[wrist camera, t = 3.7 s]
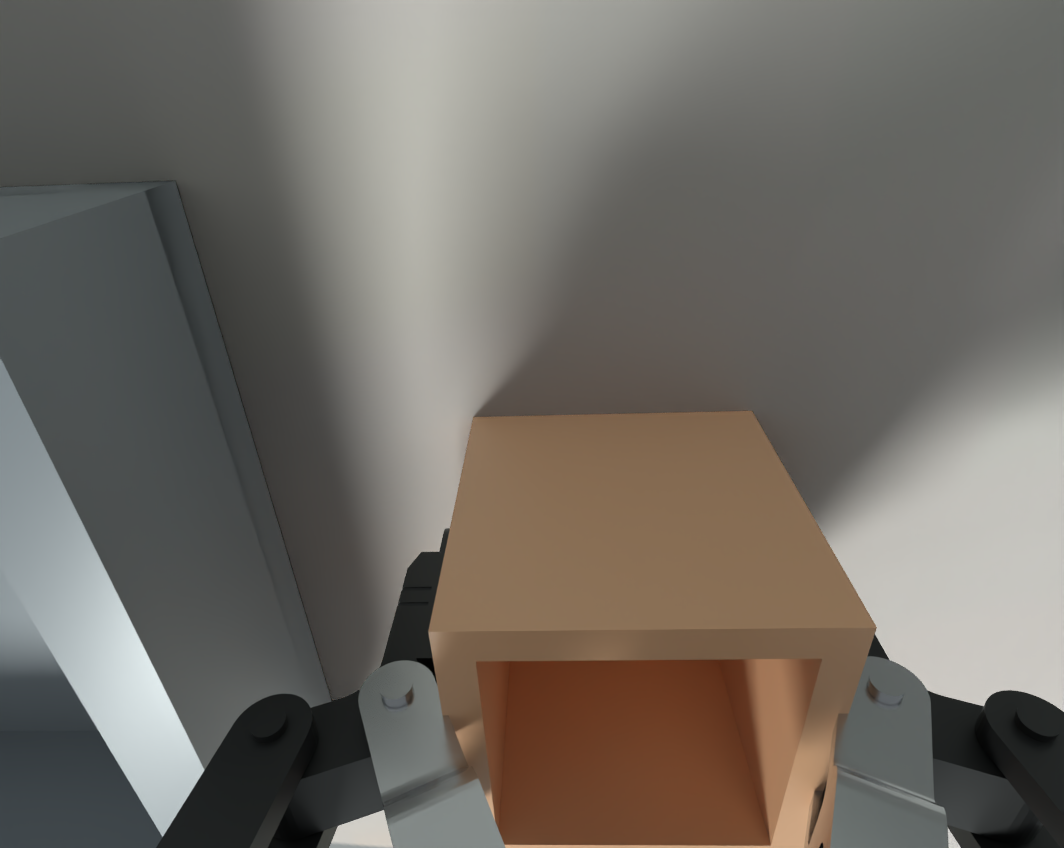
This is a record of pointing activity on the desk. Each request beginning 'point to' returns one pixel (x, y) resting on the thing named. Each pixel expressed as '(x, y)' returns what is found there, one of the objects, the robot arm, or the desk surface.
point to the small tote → (642, 632)
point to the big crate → (125, 524)
